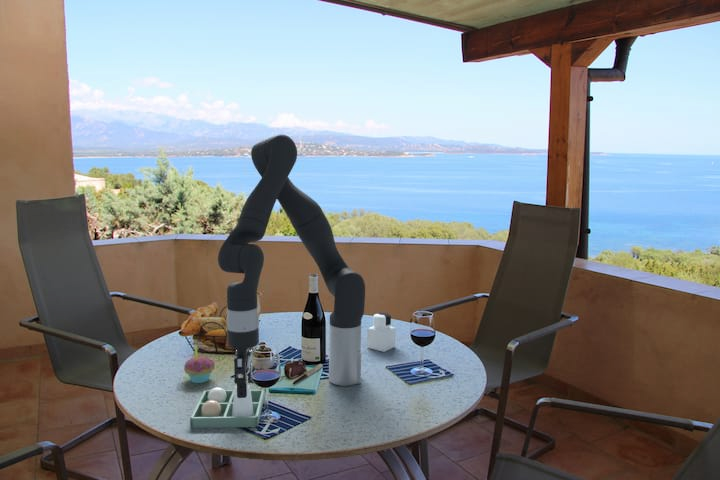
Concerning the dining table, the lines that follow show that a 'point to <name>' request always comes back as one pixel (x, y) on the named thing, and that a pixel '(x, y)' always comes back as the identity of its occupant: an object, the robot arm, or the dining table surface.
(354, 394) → the dining table surface
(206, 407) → the egg brown
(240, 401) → the salt shaker
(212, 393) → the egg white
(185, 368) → the cupcake
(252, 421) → the egg tray
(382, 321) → the medicine bottle
